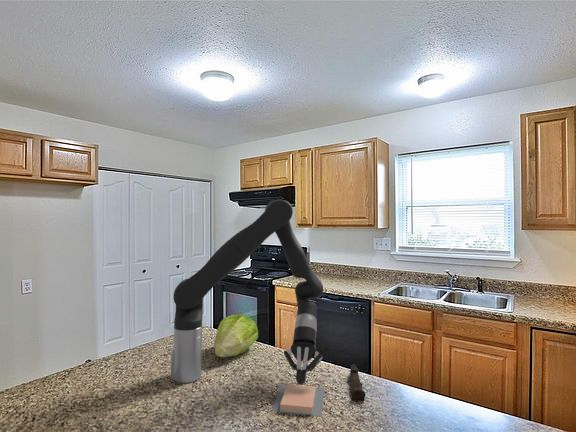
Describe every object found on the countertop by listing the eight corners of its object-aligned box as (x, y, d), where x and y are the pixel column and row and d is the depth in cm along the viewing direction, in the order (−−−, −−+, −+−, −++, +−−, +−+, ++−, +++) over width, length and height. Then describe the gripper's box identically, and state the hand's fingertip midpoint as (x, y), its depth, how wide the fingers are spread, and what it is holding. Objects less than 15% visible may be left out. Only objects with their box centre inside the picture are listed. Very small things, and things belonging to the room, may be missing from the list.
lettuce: (196, 364, 128) (200, 328, 126) (225, 336, 151) (229, 305, 149) (237, 376, 124) (241, 340, 122) (261, 345, 147) (264, 314, 145)
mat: (271, 413, 93) (271, 411, 93) (281, 386, 109) (281, 384, 109) (321, 418, 91) (321, 416, 91) (324, 390, 107) (324, 388, 107)
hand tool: (365, 404, 99) (365, 388, 99) (351, 403, 100) (351, 387, 100) (360, 376, 118) (361, 362, 118) (349, 375, 118) (349, 361, 118)
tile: (287, 390, 105) (280, 411, 93) (287, 384, 105) (280, 404, 93) (316, 393, 104) (312, 414, 92) (316, 386, 104) (312, 407, 92)
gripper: (284, 323, 113) (277, 377, 100) (324, 326, 110) (321, 380, 98) (287, 334, 118) (280, 386, 105) (325, 337, 115) (322, 390, 103)
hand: (300, 383), depth 102 cm, fingers closed
